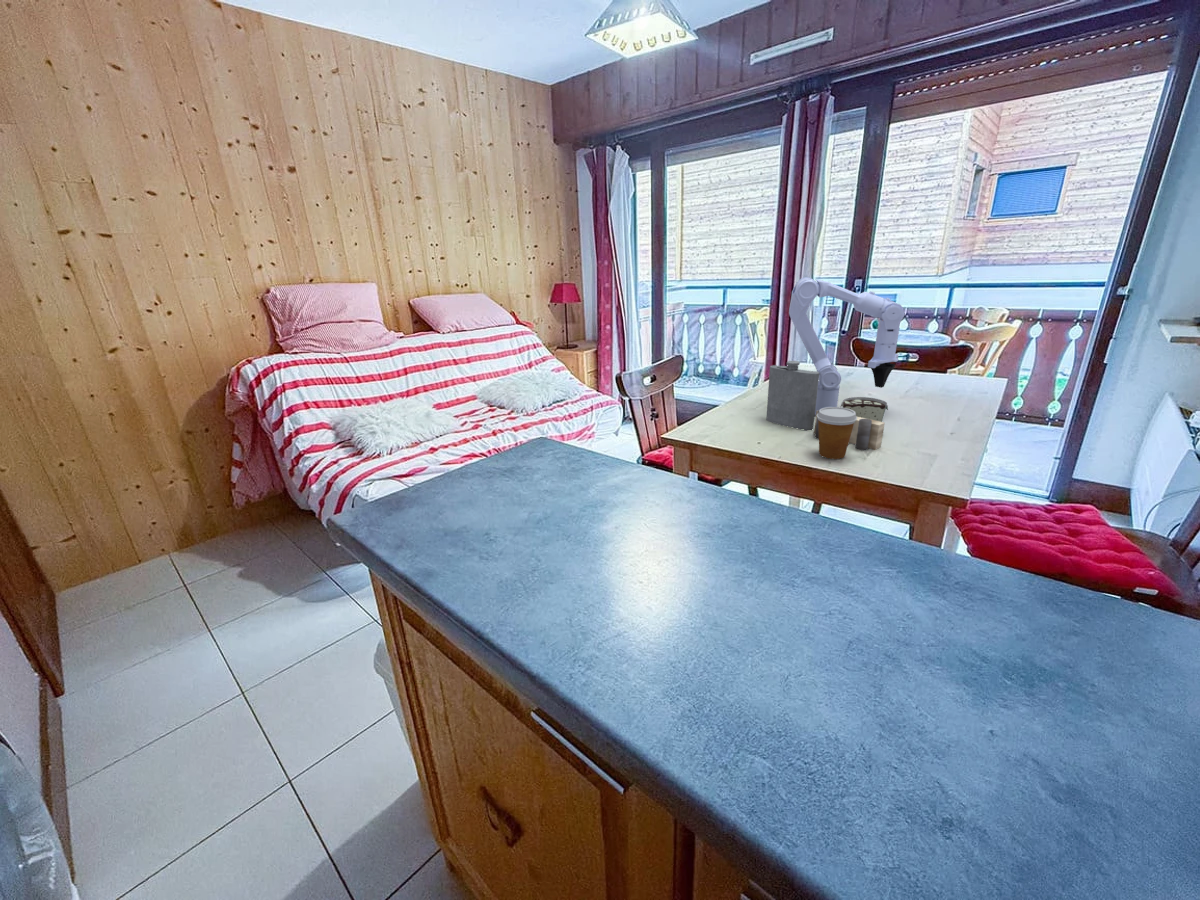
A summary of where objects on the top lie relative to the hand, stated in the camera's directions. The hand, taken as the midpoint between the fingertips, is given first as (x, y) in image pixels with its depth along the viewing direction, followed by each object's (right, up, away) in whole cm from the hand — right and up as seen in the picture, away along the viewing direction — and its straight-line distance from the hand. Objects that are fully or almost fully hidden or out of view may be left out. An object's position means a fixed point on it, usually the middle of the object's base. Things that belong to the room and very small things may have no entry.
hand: (879, 386), depth 157 cm
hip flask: (-29, -12, 0) cm, 31 cm away
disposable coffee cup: (-26, -21, -23) cm, 41 cm away
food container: (-11, -15, -9) cm, 21 cm away
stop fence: (-19, -17, -15) cm, 30 cm away
